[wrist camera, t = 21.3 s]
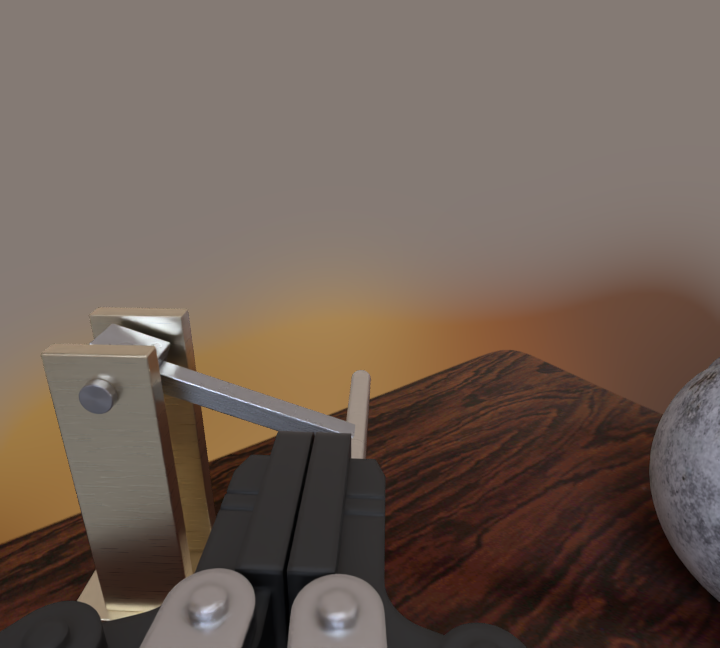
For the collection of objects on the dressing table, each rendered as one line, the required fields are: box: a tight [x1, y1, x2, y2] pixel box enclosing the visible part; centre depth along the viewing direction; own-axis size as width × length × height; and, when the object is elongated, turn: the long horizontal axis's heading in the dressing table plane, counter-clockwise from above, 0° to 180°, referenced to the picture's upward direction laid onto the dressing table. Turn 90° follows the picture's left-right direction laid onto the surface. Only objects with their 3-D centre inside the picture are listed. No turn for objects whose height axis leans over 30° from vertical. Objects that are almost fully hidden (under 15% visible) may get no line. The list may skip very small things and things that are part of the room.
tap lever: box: [90, 324, 371, 459], centre depth 26 cm, size 13×12×2 cm
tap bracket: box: [41, 307, 216, 623], centre depth 28 cm, size 8×6×16 cm
